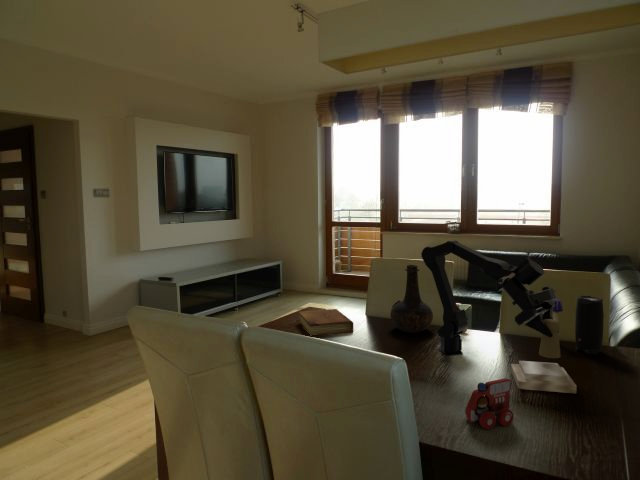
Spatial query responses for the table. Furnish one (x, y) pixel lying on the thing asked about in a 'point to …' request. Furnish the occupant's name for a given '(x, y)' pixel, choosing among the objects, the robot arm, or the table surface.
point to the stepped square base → (542, 377)
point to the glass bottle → (411, 307)
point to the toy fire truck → (490, 404)
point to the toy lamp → (557, 309)
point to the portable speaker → (589, 324)
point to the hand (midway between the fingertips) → (554, 334)
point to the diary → (325, 322)
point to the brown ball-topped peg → (550, 340)
